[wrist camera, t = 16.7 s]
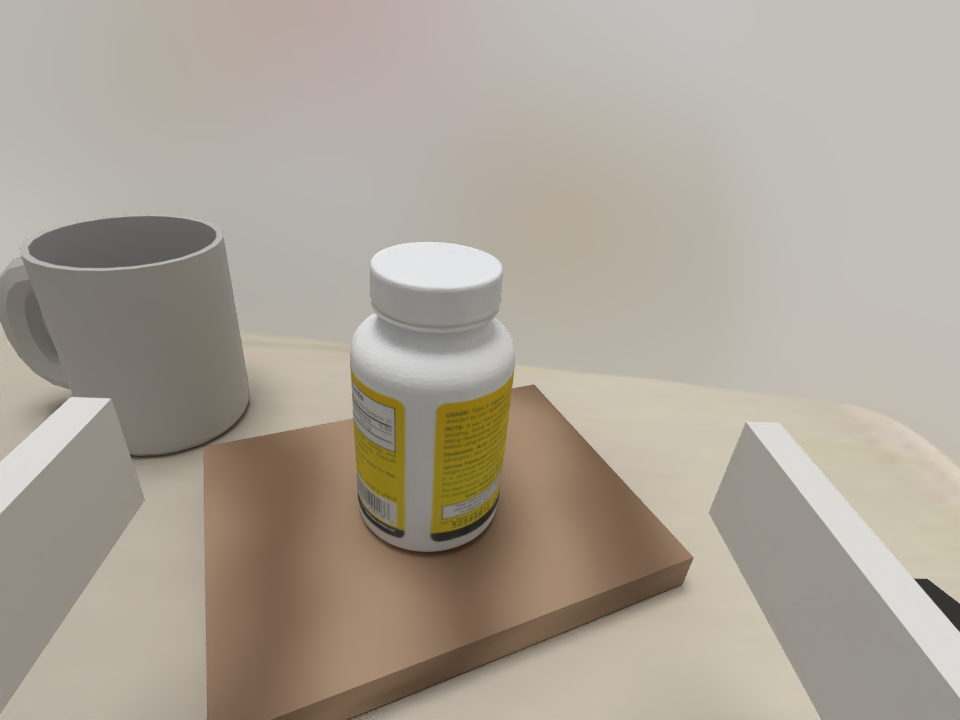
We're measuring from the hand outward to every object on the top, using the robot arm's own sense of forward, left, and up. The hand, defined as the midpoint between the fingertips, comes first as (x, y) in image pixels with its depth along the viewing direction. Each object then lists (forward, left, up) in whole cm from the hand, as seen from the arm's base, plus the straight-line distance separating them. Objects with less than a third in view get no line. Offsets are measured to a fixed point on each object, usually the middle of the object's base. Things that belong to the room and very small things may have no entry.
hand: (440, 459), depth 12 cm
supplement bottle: (+2, +6, -8) cm, 10 cm away
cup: (-9, +18, -9) cm, 22 cm away
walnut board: (+2, +6, -9) cm, 11 cm away
